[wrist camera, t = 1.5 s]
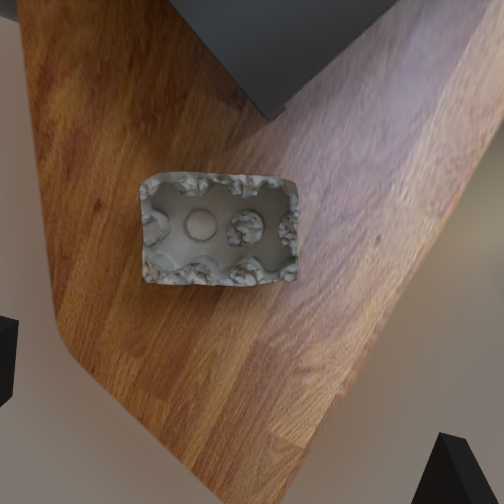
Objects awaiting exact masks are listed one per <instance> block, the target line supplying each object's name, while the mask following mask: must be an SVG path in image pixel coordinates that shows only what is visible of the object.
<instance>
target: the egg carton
mask: <svg viewBox="0 0 504 504" xmlns="http://www.w3.org/2000/svg"><path fill="white" fill-rule="evenodd" d="M140 200H141V210H142V216H141V224H142V225H143V237H144V243H143V250H142V265H143V278H142V281H143V282H146V283H155V284H169V285H188V284H202V285H210V286H213V285H226V286H240V287H245V286H252V285H260V284H265V283H273V282H278V281H283V280H285V281H294V280H297V278H296V275H297V269H298V256H297V247H298V235H297V233H298V213H299V201H298V193H297V187H296V183H294V182H292V181H288V180H284V179H280V177H279V176H259V175H252V176H251V175H246V174H241V175H230V174H223V173H202V172H191V171H185V172H163V173H158V174H155V175H153V176H151V177H149V178H147V179H146V180H144V181H142V182H141V184H140Z"/></svg>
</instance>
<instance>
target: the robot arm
mask: <svg viewBox="0 0 504 504" xmlns="http://www.w3.org/2000/svg"><path fill="white" fill-rule="evenodd" d="M18 325H19V321H18V320H14V319H10V318H7V317H3V316H0V407H1V406H2V405H3V404H4V403H6V402H7V401H8V400H9V399H10V398H11V397H12V395H13V382H14V371H15V360H16V348H17V337H18ZM411 504H499V503H498V501H497V499H496V497H495V495H494V493H493V492H492V490H491V488H490V486H489V484H488V482H487V480H486V478H485V476H484V474H483V472H482V470H481V468H480V466H479V464H478V462H477V460H476V458H475V457H474V455H473V453H472V451H471V449H470V447H469V445H468V443H467V441H466V439H464V438H460V437H456V436H452V435H449V434H445V433H441V432H439V435H438V437H437V440H436V442H435V445H434V448H433V450H432V452H431V455H430V457H429V460H428V463H427V465H426V468H425V470H424V472H423V475H422V477H421V480H420V483H419V485H418V488H417V490H416V493H415V495H414V498H413V500H412V503H411Z"/></svg>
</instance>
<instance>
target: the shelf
mask: <svg viewBox="0 0 504 504" xmlns="http://www.w3.org/2000/svg"><path fill="white" fill-rule="evenodd" d="M168 1H169V2H170V4H171V5H172V6H173V7H174V8H175V10H176V11H177V12H178V13H179V14H180V16H181V17H182V18H183V19H184V20H185V22H186V23H187V24H188V25H189V27H190V28H191V29H192V30H193V31H194V33H195V34H196V35H197V36H198V37H199V39H200V40H201V41H202V42H203V44H204V45H205V46H206V47H207V48H208V50H209V51H210V52H211V53H212V54H213V56H214V57H215V58H216V59H217V61H218V62H219V63H220V64H221V65H222V67H223V68H224V69H225V70H226V71H227V73H228V74H229V75H230V76H231V77H232V79H233V80H234V81H235V82H236V84H237V85H238V86H239V87H240V88H241V90H242V91H243V92H244V93H245V94H246V96H247V97H248V98H249V99H250V101H251V102H252V103H253V104H254V105H255V107H256V108H257V109H258V110H259V111H260V113H261V114H262V115H263V116H264V118H266V119H269V120H272V121H273V120H275V119H276V118H277V117H278V116H279V115H280V114H282V113H283V112H284V111H285V110H286V107H285V106H284V104H285V103H286V102H287V101H288V100H290V99H291V98H292V97H293V96H294V95H295V94H296V93H297V92H298V91H299V90H301V89H302V88H303V87H304V86H305V85H306V84H307V83H308V82H309V81H311V80H312V79H313V78H314V77H315V76H316V75H317V74H318V73H319V72H321V71H322V70H323V69H324V68H325V67H326V66H327V65H328V64H329V63H331V62H332V61H333V60H334V59H335V58H336V57H337V56H338V55H339V54H341V53H342V52H343V51H344V50H345V49H346V48H347V47H348V46H349V45H350V44H352V43H353V42H354V41H355V40H356V39H357V38H358V37H359V36H360V35H362V34H363V33H364V32H365V31H366V30H367V29H368V28H369V27H370V26H372V25H373V24H374V23H375V22H376V21H377V20H378V19H379V18H380V17H382V16H383V15H384V14H385V13H386V12H387V11H388V10H389V9H390V8H391V7H393V6H394V5H395V4H396V3H397V2H398V1H399V0H168Z"/></svg>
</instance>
